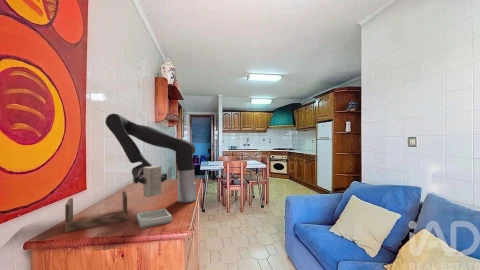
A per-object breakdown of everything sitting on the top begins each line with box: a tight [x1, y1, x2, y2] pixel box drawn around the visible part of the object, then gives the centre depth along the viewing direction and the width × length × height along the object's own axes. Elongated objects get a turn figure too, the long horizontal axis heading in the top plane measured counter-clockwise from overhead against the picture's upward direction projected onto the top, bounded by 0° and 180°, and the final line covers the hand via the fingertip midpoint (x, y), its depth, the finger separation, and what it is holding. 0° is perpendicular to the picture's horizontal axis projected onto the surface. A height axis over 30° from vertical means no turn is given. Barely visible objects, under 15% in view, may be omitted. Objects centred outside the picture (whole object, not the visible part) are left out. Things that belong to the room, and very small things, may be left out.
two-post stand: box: [64, 191, 129, 233], centre depth 93 cm, size 21×12×10 cm, turn 122°
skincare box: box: [143, 165, 163, 198], centre depth 93 cm, size 6×4×12 cm
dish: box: [136, 208, 173, 230], centre depth 92 cm, size 12×12×2 cm
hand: (153, 180), depth 91 cm, fingers closed on skincare box, 7 cm apart
